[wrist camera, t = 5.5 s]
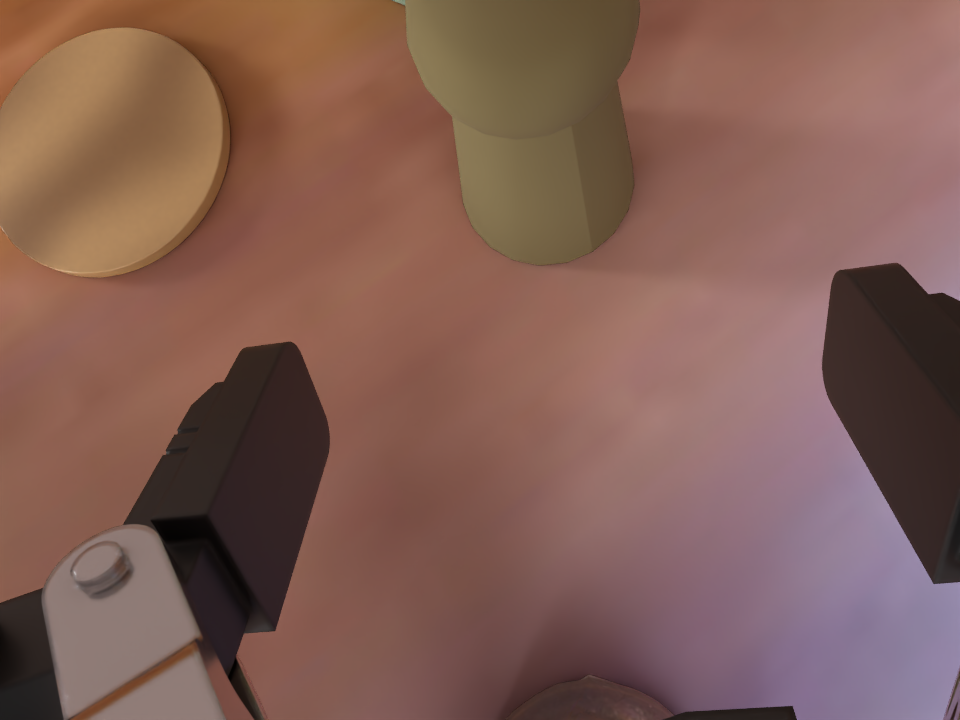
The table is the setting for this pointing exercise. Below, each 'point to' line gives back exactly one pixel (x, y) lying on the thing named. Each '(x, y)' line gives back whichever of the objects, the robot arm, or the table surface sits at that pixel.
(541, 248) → the olive round-headed cylinder
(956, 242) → the table surface
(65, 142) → the coaster
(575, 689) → the mortar and pestle
